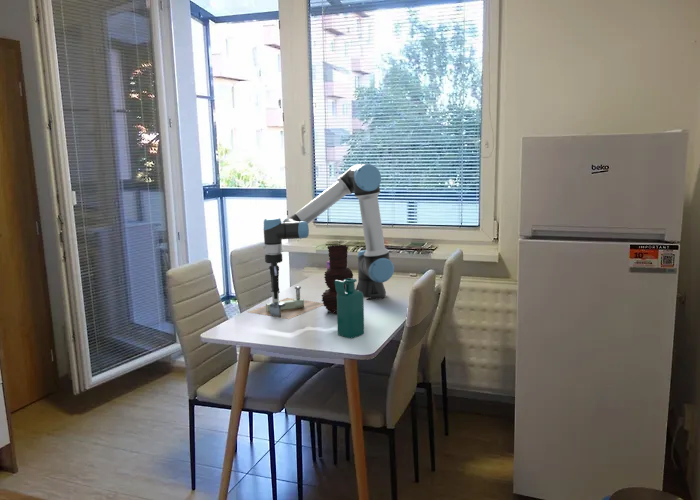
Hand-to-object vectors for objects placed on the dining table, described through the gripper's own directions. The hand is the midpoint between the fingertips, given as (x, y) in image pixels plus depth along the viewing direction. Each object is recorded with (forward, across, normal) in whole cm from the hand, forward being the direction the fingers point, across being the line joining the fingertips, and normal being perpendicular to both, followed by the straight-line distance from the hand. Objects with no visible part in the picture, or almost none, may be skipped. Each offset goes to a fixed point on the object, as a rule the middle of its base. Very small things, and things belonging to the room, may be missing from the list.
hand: (275, 305), depth 249 cm
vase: (+3, +13, +26) cm, 29 cm away
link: (+1, +2, +4) cm, 5 cm away
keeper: (+1, +11, 0) cm, 11 cm away
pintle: (-2, +1, +10) cm, 10 cm away
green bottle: (+3, +42, +24) cm, 48 cm away
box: (+4, -49, +39) cm, 62 cm away
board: (+3, 0, +6) cm, 6 cm away
